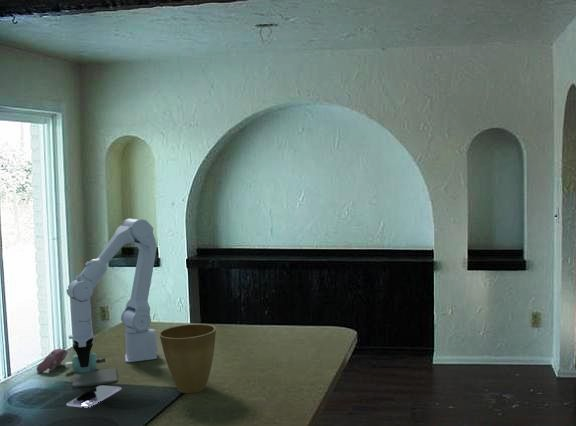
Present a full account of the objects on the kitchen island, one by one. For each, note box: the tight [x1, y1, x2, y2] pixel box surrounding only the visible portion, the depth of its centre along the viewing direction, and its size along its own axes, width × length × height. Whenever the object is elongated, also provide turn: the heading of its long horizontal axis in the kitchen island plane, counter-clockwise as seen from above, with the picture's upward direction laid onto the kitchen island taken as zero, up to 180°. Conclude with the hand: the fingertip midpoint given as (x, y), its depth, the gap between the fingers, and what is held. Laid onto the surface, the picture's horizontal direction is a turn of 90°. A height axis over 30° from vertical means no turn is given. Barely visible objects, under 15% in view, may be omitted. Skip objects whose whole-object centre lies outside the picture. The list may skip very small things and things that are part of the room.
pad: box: [71, 367, 118, 389], centre depth 190 cm, size 12×12×1 cm
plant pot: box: [159, 323, 217, 394], centre depth 177 cm, size 15×15×16 cm
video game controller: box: [36, 347, 68, 374], centre depth 202 cm, size 10×5×7 cm, turn 169°
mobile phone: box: [65, 384, 122, 409], centre depth 175 cm, size 8×1×15 cm
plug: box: [65, 352, 106, 374], centre depth 199 cm, size 11×4×4 cm, turn 106°
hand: (84, 364), depth 199 cm, fingers closed on plug, 4 cm apart
